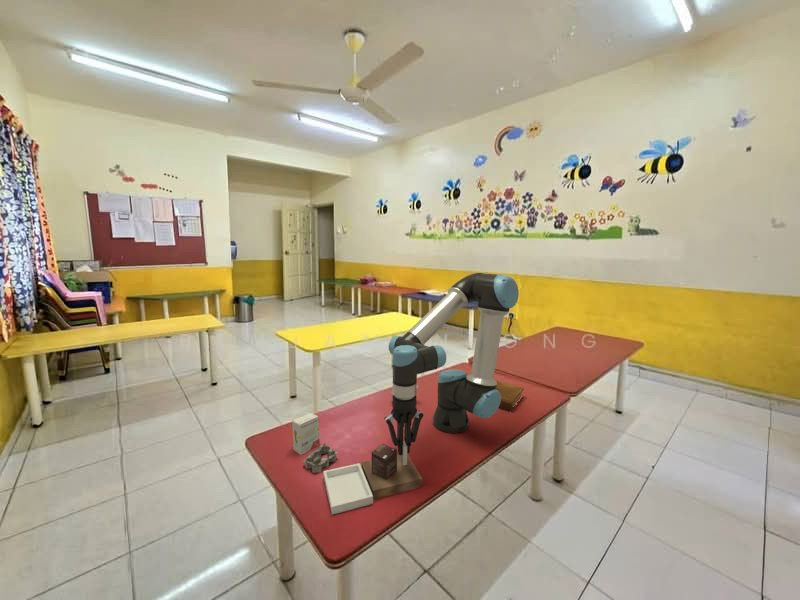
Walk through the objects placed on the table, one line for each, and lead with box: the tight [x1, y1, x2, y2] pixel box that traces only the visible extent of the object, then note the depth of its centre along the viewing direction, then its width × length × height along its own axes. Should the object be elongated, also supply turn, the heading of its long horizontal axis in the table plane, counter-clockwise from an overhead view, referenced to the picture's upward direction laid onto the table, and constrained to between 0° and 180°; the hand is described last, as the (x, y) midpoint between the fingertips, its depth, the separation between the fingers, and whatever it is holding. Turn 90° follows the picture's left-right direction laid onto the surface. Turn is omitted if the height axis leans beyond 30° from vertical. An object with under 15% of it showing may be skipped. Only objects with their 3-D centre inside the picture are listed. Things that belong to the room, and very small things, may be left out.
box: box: [371, 443, 398, 480], centre depth 109 cm, size 6×6×7 cm
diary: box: [495, 380, 524, 413], centre depth 168 cm, size 23×19×6 cm
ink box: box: [291, 412, 321, 456], centre depth 126 cm, size 9×5×12 cm, turn 140°
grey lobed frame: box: [303, 442, 338, 474], centre depth 118 cm, size 11×8×4 cm
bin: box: [323, 462, 374, 516], centre depth 105 cm, size 12×16×2 cm
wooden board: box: [361, 453, 423, 501], centre depth 110 cm, size 16×14×3 cm
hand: (403, 462), depth 111 cm, fingers closed
